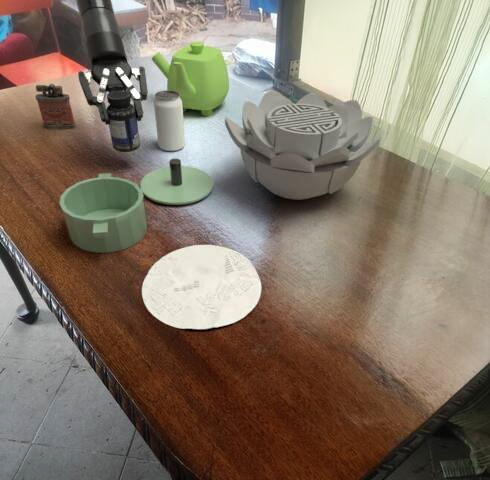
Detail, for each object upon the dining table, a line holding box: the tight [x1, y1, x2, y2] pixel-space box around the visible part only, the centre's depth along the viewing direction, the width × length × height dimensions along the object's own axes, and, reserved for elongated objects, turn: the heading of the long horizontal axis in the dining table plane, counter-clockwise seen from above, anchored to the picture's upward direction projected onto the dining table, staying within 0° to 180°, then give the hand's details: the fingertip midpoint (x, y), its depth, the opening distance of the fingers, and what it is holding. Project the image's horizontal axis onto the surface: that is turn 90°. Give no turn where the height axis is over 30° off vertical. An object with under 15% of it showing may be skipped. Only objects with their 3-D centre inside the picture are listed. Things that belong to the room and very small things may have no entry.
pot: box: [58, 172, 148, 254], centre depth 85 cm, size 15×20×7 cm
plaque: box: [141, 244, 262, 330], centre depth 76 cm, size 20×20×2 cm
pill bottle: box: [106, 90, 141, 153], centre depth 97 cm, size 6×6×11 cm
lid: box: [139, 158, 214, 206], centre depth 96 cm, size 16×16×6 cm
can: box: [153, 89, 186, 152], centre depth 107 cm, size 6×6×12 cm
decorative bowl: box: [224, 89, 382, 201], centre depth 96 cm, size 30×30×15 cm
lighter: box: [34, 83, 77, 130], centre depth 114 cm, size 8×3×10 cm, turn 94°
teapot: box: [151, 41, 230, 117], centre depth 123 cm, size 25×22×16 cm
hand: (123, 121), depth 96 cm, fingers closed on pill bottle, 6 cm apart
